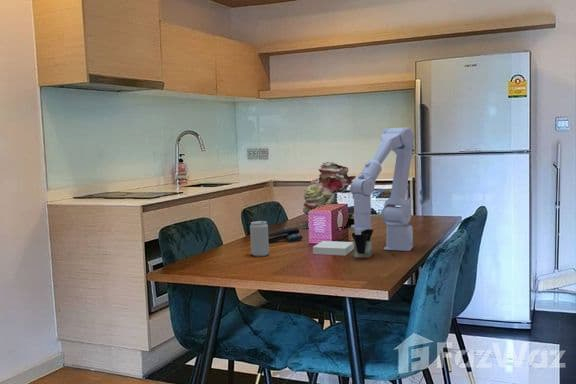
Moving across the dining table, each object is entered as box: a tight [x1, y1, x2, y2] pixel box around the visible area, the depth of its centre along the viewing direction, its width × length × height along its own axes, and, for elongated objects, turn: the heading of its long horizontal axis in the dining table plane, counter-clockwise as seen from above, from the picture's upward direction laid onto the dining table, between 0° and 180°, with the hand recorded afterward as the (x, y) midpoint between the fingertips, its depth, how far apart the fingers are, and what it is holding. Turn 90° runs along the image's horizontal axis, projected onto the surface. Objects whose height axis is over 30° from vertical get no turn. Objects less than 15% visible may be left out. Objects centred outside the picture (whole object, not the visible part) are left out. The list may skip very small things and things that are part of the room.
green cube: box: [353, 240, 373, 259], centre depth 194 cm, size 5×5×5 cm
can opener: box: [268, 227, 304, 244], centre depth 224 cm, size 18×7×6 cm, turn 114°
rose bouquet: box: [299, 161, 357, 229], centre depth 259 cm, size 26×29×30 cm
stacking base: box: [312, 240, 355, 256], centre depth 203 cm, size 12×12×2 cm
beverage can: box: [249, 220, 270, 257], centre depth 200 cm, size 6×6×12 cm
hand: (363, 251), depth 194 cm, fingers open, 5 cm apart
